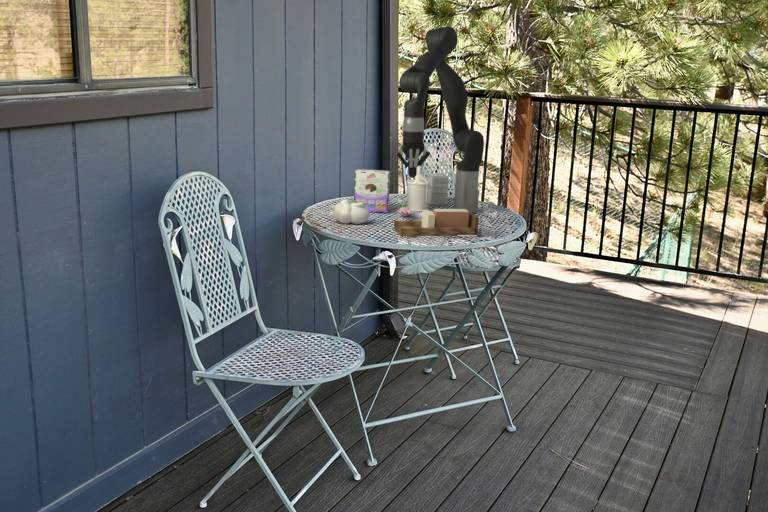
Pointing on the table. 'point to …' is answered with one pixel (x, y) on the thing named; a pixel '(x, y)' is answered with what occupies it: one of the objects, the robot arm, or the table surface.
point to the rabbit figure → (404, 210)
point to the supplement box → (437, 188)
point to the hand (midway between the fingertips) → (412, 177)
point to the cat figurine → (350, 212)
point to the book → (451, 218)
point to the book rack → (417, 230)
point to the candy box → (373, 189)
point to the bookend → (428, 219)
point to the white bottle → (418, 192)
